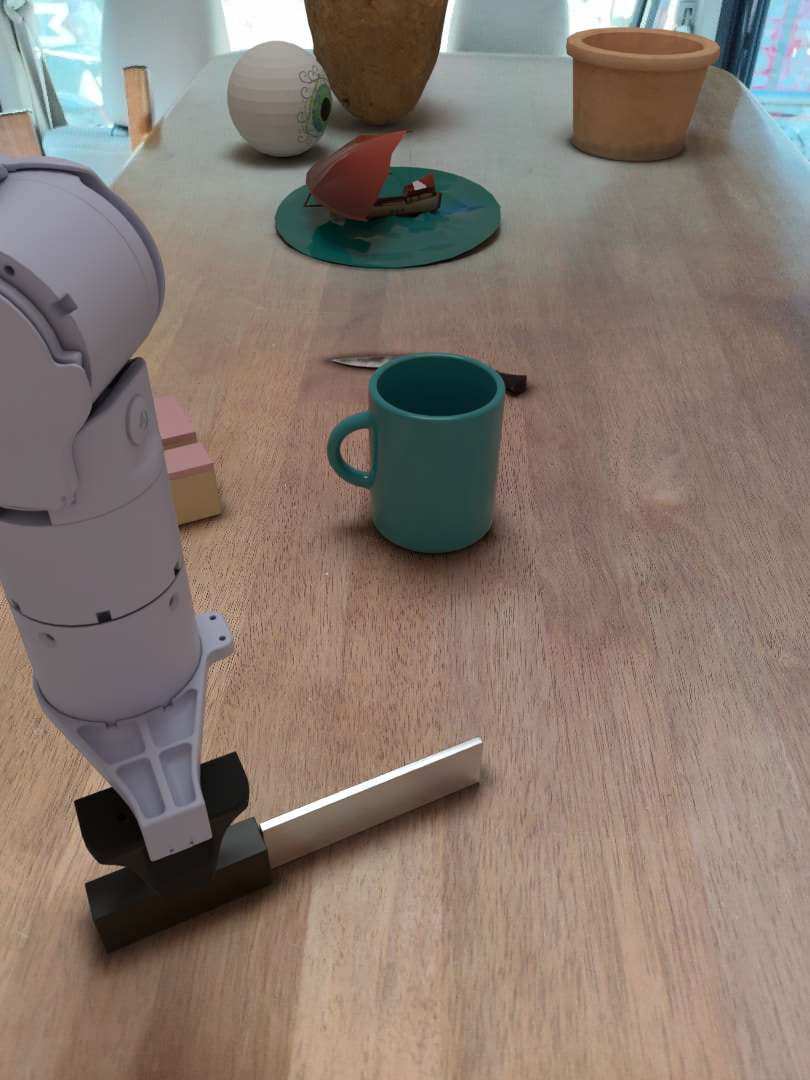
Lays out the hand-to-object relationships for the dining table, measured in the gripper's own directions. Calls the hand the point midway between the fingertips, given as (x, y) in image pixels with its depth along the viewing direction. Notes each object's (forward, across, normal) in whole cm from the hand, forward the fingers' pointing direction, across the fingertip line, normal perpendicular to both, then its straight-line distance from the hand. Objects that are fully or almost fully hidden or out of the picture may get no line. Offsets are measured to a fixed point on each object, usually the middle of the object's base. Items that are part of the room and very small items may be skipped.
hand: (162, 807), depth 38 cm
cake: (+8, +36, -6) cm, 37 cm away
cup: (+8, +22, -23) cm, 33 cm away
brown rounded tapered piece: (+8, +118, -65) cm, 135 cm away
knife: (+8, +41, -34) cm, 54 cm away
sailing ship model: (+8, +77, -47) cm, 91 cm away
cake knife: (+8, 0, -6) cm, 10 cm away
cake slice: (+8, +30, -6) cm, 32 cm away
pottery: (+8, +92, -95) cm, 132 cm away
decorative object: (+8, +109, -45) cm, 118 cm away
